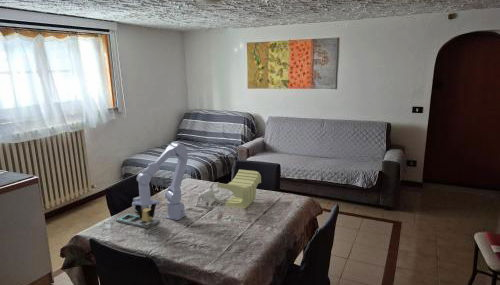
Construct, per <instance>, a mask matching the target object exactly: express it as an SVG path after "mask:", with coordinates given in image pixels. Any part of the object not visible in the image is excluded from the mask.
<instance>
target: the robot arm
mask: <svg viewBox="0 0 500 285" xmlns="http://www.w3.org/2000/svg"><path fill="white" fill-rule="evenodd" d="M170 157H176V158H177V162H176V165H175V169H174V173H173V176H172V177H173V178H172V180H171V183H170V185H169V186H168V188H167V190H166V191H165V193H164V196H165V199H167V201H166V205H167V206H166V207H167V215H166V216H165V217H164V218H166V219H170V220H176V221H179V220H181V219H182V218H183V217H185V216H186V215H187V214H186V210H185V204H184V203H182V202H181V200H182V195H181V194H182V190H181V185H182V182H183V178H184V176H185V175H184V174H185V172H186V166H187V164H188V160H189V156H188V148H187V147H186V146H185V145H184V143H180V142H178V141H172V142H171V143H170V144H169V145H167V146H166V148H165V150H164V151H163V152H162V153H161V155H159V157H158V158H157V159H156V160H155V161H154V162H150V163H148V164H147V167H146V168H144V169H143V170H142V171H141V172H139V174H137V176H136V178H135V179H136V182H138V194H139V196H140V201H137V202H133V201H132V203H131V207H133V208H134V206H135V209H136V211H137V212H136V213H137V214H138V216H140V218H142V217H141V211H142V208H141V206H142V205H149V206H150V209H151V212H152V218H153V219H154V216H155V210H156V207H157V206H159V205H160V200H153V199H152V198H151V187H150V183H151V180H152V178H153V177H154V176H155V175H156V173H157V172H159V170H160V167H161V165H162V164H164V162H166V161H167V160H168V159H169V158H170Z"/></svg>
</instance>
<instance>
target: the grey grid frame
mask: <svg viewBox="0 0 500 285" xmlns="http://www.w3.org/2000/svg"><path fill="white" fill-rule="evenodd" d="M127 218H131V219H129V220H127ZM115 220H116V222H117V223H122V224H126V225H131V226H135V227H139V228H144V229H148V230H149V229H151V228H153V227H154V226H156V225H157V224H159V223H161V221H160V219H156V218H153V219H152V220H150V221H149V222H150V223H149V224H145V223H146V222H145V221H142V218H140V216H139V215H136V214H133V213H132V214H131V213H126V214H124V215H122V216H120V217H118V218H116V219H115ZM136 220H141V221H138V222H135V221H136Z"/></svg>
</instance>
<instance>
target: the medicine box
mask: <svg viewBox="0 0 500 285" xmlns="http://www.w3.org/2000/svg"><path fill="white" fill-rule="evenodd" d="M137 201H140V195H139V196H136V197H133V198H132V202H137ZM149 206H150V205H142V206H141V208H142V210H143V209H145V208H148V209H150V207H149ZM133 212H135V213H138V212H137V211H136V209H135V206H133Z"/></svg>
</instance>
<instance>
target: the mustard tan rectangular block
mask: <svg viewBox="0 0 500 285" xmlns="http://www.w3.org/2000/svg"><path fill="white" fill-rule="evenodd" d="M141 217H142V220H141V221H145V222H144V223H148V222H150V220H152V219H154V217H153V218H152V212H151V208H149V209H148V208H145V209H143V210H142V211H141Z"/></svg>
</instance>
